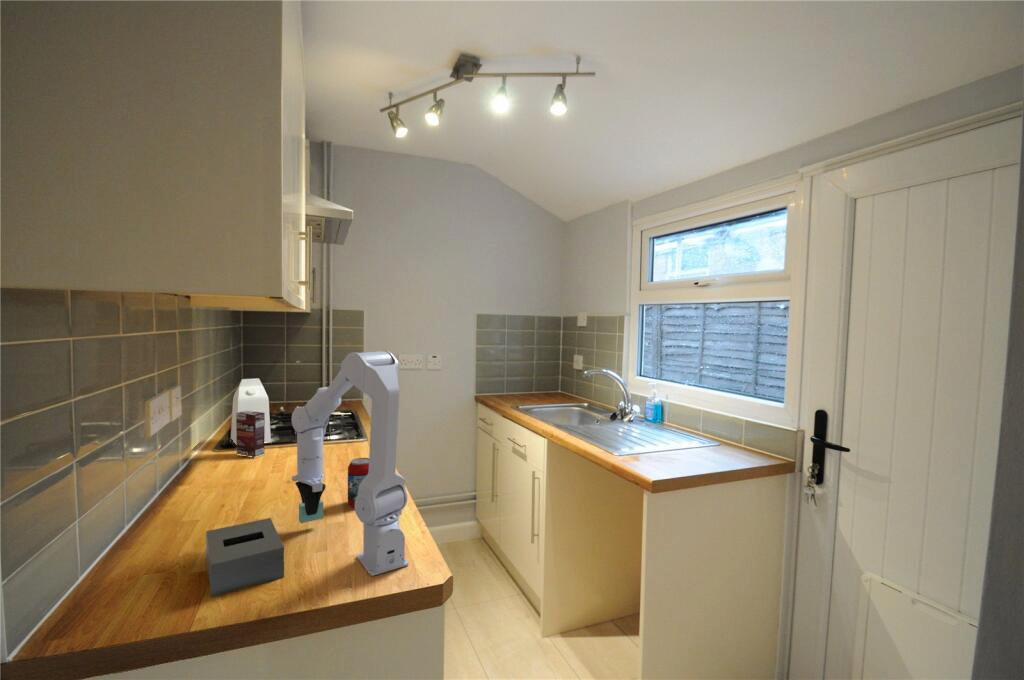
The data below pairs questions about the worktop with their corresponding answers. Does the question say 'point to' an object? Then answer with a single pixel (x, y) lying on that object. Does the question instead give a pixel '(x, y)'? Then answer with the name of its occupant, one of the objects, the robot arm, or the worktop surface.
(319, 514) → the teal rectangular brick
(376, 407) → the robot arm
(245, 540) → the coin box
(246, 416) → the supplement box
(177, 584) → the worktop surface
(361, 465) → the beverage can
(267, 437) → the milk
